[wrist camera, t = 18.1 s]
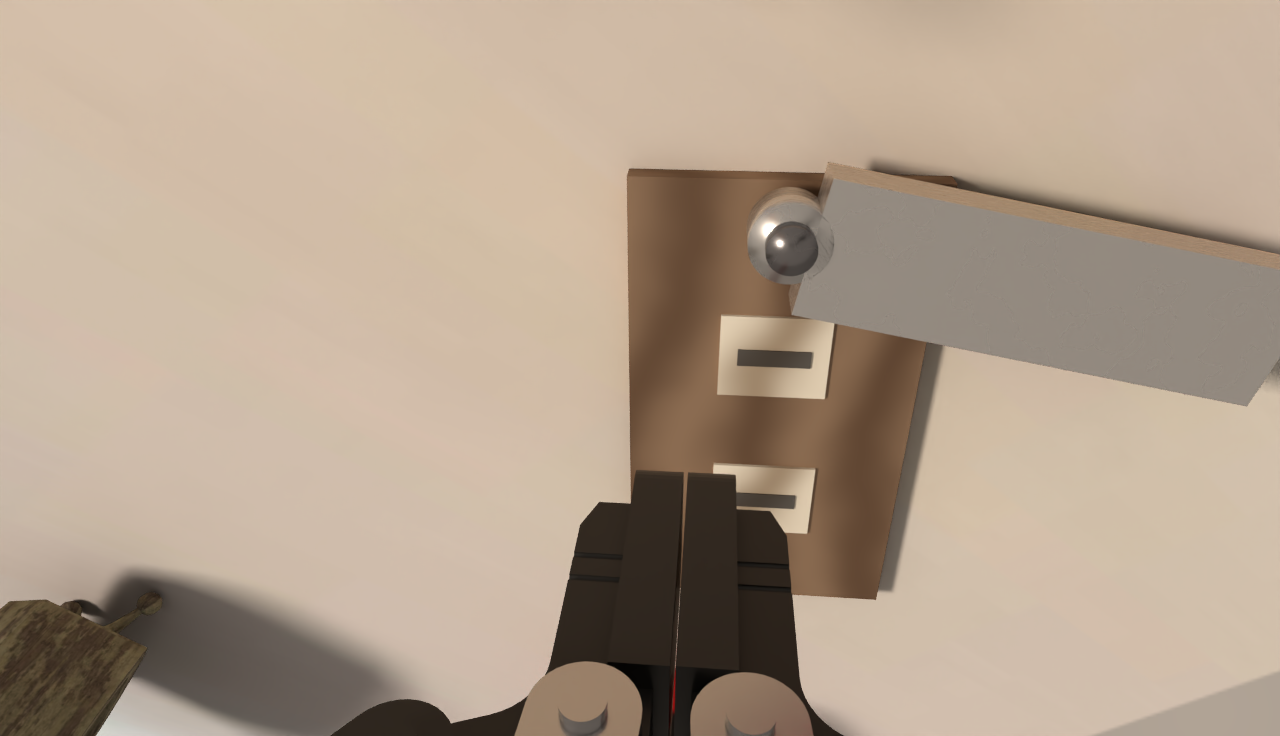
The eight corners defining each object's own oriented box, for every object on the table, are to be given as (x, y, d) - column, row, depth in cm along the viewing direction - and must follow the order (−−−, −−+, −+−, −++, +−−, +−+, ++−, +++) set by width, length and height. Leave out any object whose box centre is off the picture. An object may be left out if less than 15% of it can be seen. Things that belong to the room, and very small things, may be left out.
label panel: (951, 176, 42) (960, 189, 40) (873, 586, 56) (877, 607, 55) (629, 168, 43) (625, 180, 41) (633, 571, 57) (630, 592, 56)
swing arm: (765, 149, 40) (768, 170, 37) (1301, 258, 40) (1343, 288, 37) (731, 281, 43) (731, 310, 41) (1222, 380, 44) (1255, 415, 41)
